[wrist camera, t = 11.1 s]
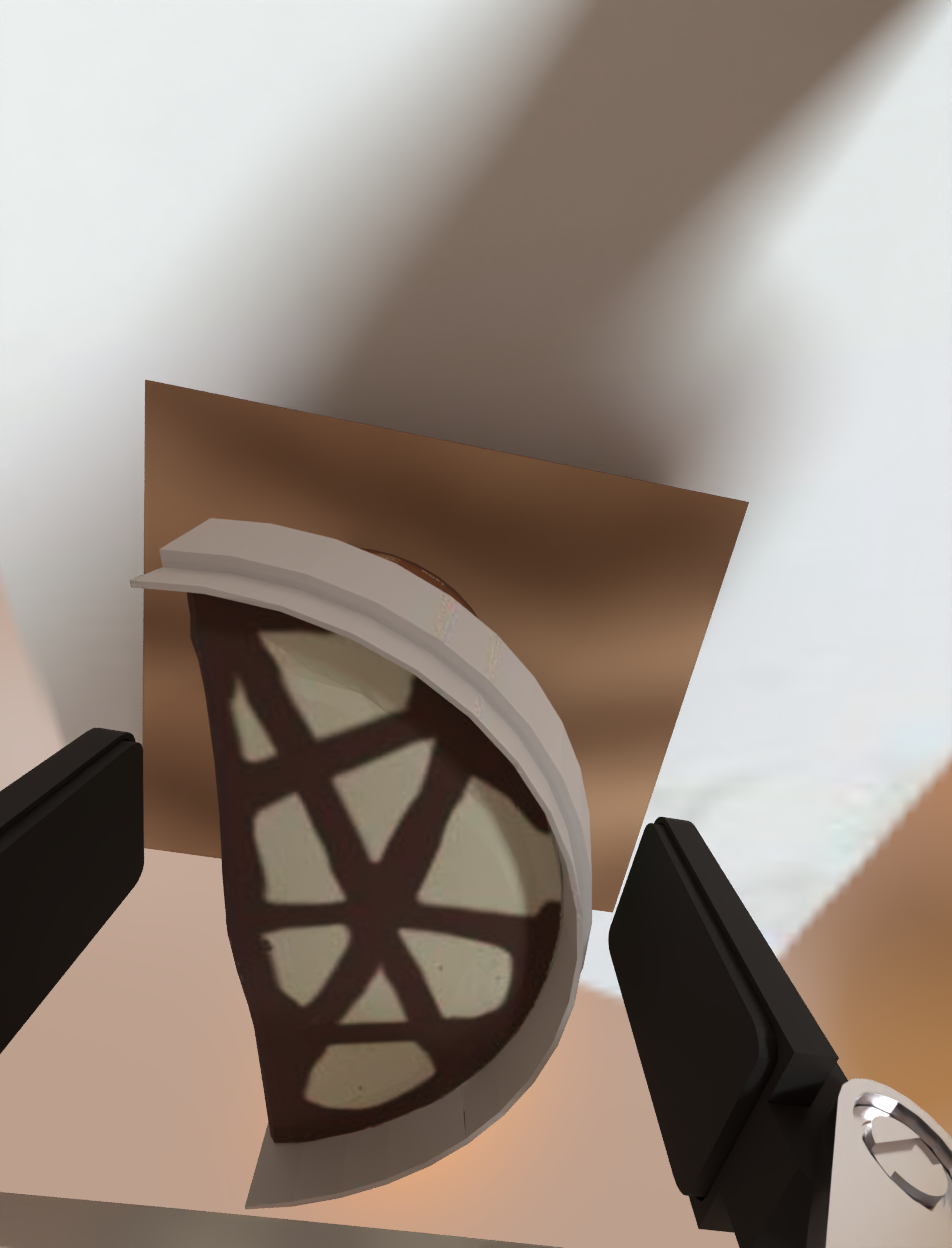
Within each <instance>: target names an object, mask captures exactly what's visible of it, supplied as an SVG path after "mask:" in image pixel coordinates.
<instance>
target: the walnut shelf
mask: <svg viewBox="0 0 952 1248" xmlns="http://www.w3.org/2000/svg"><path fill="white" fill-rule="evenodd" d="M748 504H749V502H745V501H740V500H736V499H731V498H726V497H721V496H716V495H711V494H706V493H701V492H696V491H691V490H686V489H681V488H676V487H671V486H667V485H662V484H657V483H652V482H647V481H642V480H637V479H632V478H627V477H622V476H617V475H612V474H607V473H603V472H598V471H593V470H588V469H583V468H578V467H573V466H568V465H563V464H558V463H553V462H548V461H543V460H538V459H534V458H529V457H524V456H519V455H514V454H509V453H504V452H499V451H494V450H489V449H484V448H479V447H474V446H470V445H465V444H460V443H455V442H450V441H445V440H440V439H435V438H430V437H425V436H420V435H415V434H410V433H405V432H401V431H396V430H391V429H386V428H381V427H376V426H371V425H366V424H361V423H356V422H351V421H346V420H341V419H337V418H332V417H327V416H322V415H317V414H312V413H307V412H302V411H297V410H292V409H287V408H282V407H277V406H272V405H268V404H263V403H258V402H253V401H248V400H243V399H238V398H233V397H228V396H223V395H218V394H213V393H208V392H204V391H199V390H194V389H189V388H184V387H179V386H174V385H169V384H164V383H159V382H154V381H149V380H145V493H144V574H147V573H149V572H152V571H154V570H157V569H159V568H162V567H163V565H162V561H161V556H160V551H159V549H160V548H162V547H164V546H165V545H167V544H169V543H170V542H172V541H174V540H175V539H177V538H179V537H180V536H182V535H184V534H185V533H187V532H189V531H190V530H192V529H194V528H195V527H197V526H198V525H200V524H202V523H203V522H205V521H207V520H208V519H210V518H216V519H227V520H238V521H249V522H261V523H271V524H275V525H279V526H283V527H288V528H292V529H296V530H300V531H304V532H308V533H312V534H317V535H321V536H325V537H329V538H333V539H337V540H339V541H342V542H344V543H347V544H349V545H351V546H354V547H356V548H363V549H372V550H376V551H380V552H384V553H389V554H393V555H396V556H398V557H401V558H403V559H406V560H408V561H411V562H413V563H416V564H418V565H420V566H421V567H423V568H425V569H427V570H428V571H430V572H432V573H433V574H435V575H437V576H438V577H440V578H441V579H442V580H443V581H445V582H446V583H447V584H448V585H450V586H451V587H452V588H453V589H455V590H456V591H457V592H458V593H459V594H460V596H461V597H462V598H463V599H464V600H465V601H466V602H467V603H468V604H469V605H470V607H471V608H472V609H473V611H474V612H475V614H476V615H477V617H478V618H479V620H480V621H481V622H483V623H484V624H485V625H486V626H488V627H489V628H490V629H491V630H492V631H494V632H495V633H496V634H497V635H498V636H499V637H500V638H501V639H502V641H503V642H504V643H505V644H506V645H507V646H508V647H509V649H510V650H511V651H512V652H513V653H514V654H515V655H516V657H517V658H518V659H519V660H520V661H521V662H522V663H523V665H524V666H525V667H526V668H527V669H528V670H529V671H530V673H531V674H532V675H533V676H534V677H535V679H536V680H537V682H538V684H539V685H540V687H541V688H542V690H543V692H544V693H545V695H546V697H547V698H548V700H549V701H550V703H551V705H552V706H553V708H554V710H555V711H556V713H557V714H558V716H559V718H560V719H561V721H562V723H563V725H564V728H565V730H566V733H567V735H568V738H569V740H570V743H571V745H572V748H573V751H574V753H575V756H576V758H577V761H578V763H579V766H580V768H581V773H582V778H583V784H584V789H585V794H586V799H587V804H588V809H589V814H590V840H591V865H592V910H599V911H606V912H613V910H614V907H615V904H616V901H617V898H618V895H619V892H620V889H621V886H622V883H623V880H624V877H625V874H626V871H627V868H628V865H629V862H630V859H631V856H632V853H633V850H634V847H635V844H636V841H637V838H638V835H639V832H640V829H641V826H642V823H643V820H644V817H645V814H646V811H647V808H648V805H649V802H650V799H651V796H652V793H653V790H654V787H655V784H656V781H657V778H658V775H659V772H660V769H661V766H662V763H663V760H664V757H665V754H666V751H667V748H668V745H669V742H670V739H671V735H672V732H673V729H674V726H675V723H676V720H677V717H678V714H679V711H680V708H681V705H682V702H683V699H684V696H685V693H686V690H687V687H688V684H689V681H690V678H691V675H692V672H693V669H694V666H695V663H696V660H697V657H698V654H699V651H700V648H701V645H702V642H703V639H704V636H705V633H706V630H707V627H708V624H709V621H710V618H711V615H712V612H713V609H714V606H715V603H716V600H717V597H718V594H719V591H720V588H721V585H722V582H723V579H724V576H725V573H726V570H727V567H728V564H729V561H730V558H731V555H732V552H733V549H734V546H735V543H736V540H737V537H738V534H739V531H740V528H741V525H742V522H743V519H744V516H745V513H746V510H747V507H748ZM143 799H144V848H149V849H156V850H163V851H171V852H178V853H185V854H192V855H200V856H207V857H214V858H221V859H222V856H221V837H220V818H219V806H218V796H217V785H216V774H215V763H214V756H213V748H212V741H211V734H210V726H209V719H208V711H207V704H206V696H205V690H204V686H203V681H202V676H201V671H200V666H199V662H198V658H197V655H196V652H195V650H194V647H193V644H192V641H191V638H190V612H189V606H188V600H187V592H179V591H168V590H157V589H146V588H144V639H143Z"/></svg>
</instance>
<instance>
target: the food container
mask: <svg viewBox="0 0 952 1248" xmlns="http://www.w3.org/2000/svg"><path fill="white" fill-rule="evenodd" d="M159 551H160V556H161V561H162V565H163V567H162V568H159V569H157V570H154V571H152V572H149V573H147V574H144V575H142V576H139V577H137V578H134V579H132V580H130V584H131V587H135V588H146V589H157V590H168V591H179V592H187V600H188V606H189V612H190V638H191V641H192V644H193V647H194V650H195V652H196V655H197V658H198V662H199V666H200V671H201V676H202V681H203V686H204V690H205V696H206V704H207V711H208V719H209V726H210V734H211V741H212V748H213V756H214V763H215V774H216V785H217V796H218V806H219V818H220V837H221V856H222V873H223V886H224V898H225V909H226V924H227V932H228V937H229V941H230V944H231V948H232V953H233V957H234V961H235V965H236V968H237V972H238V975H239V978H240V981H241V984H242V988H243V991H244V994H245V997H246V1000H247V1003H248V1006H249V1010H250V1014H251V1018H252V1021H253V1025H254V1029H255V1036H256V1042H257V1049H258V1055H259V1061H260V1067H261V1074H262V1081H263V1087H264V1093H265V1101H266V1107H267V1114H268V1121H269V1122H268V1126H267V1129H266V1133H265V1137H264V1141H263V1144H262V1147H261V1151H260V1155H259V1158H258V1162H257V1165H256V1169H255V1173H254V1176H253V1180H252V1183H251V1187H250V1190H249V1194H248V1198H247V1201H246V1205H245V1208H246V1209H257V1208H274V1207H290V1206H297V1205H303V1204H309V1203H314V1202H320V1201H326V1200H331V1199H337V1198H342V1197H345V1196H348V1195H352V1194H356V1193H359V1192H362V1191H366V1190H369V1189H373V1188H376V1187H380V1186H383V1185H386V1184H389V1183H391V1182H393V1181H396V1180H398V1179H400V1178H403V1177H405V1176H408V1175H410V1174H412V1173H415V1172H417V1171H419V1170H421V1169H424V1168H426V1167H428V1166H431V1165H432V1164H434V1163H436V1162H437V1161H439V1160H441V1159H443V1158H444V1157H446V1156H448V1155H449V1154H451V1153H453V1152H454V1151H456V1150H458V1149H460V1148H461V1147H463V1146H465V1145H466V1144H468V1143H470V1142H471V1141H472V1140H473V1139H474V1138H476V1137H477V1136H478V1135H479V1134H481V1133H482V1132H483V1131H485V1130H486V1129H487V1128H488V1127H490V1126H491V1125H492V1124H493V1123H495V1122H496V1121H497V1120H498V1119H500V1118H501V1117H502V1116H504V1115H505V1113H506V1112H507V1111H508V1110H509V1109H510V1108H511V1107H512V1106H513V1105H514V1104H515V1103H516V1101H517V1100H518V1099H519V1098H520V1097H521V1096H522V1095H523V1094H524V1093H525V1092H526V1091H527V1090H528V1088H529V1087H530V1086H531V1085H532V1084H533V1083H534V1082H535V1080H536V1078H537V1077H538V1075H539V1074H540V1072H541V1071H542V1069H543V1068H544V1066H545V1064H546V1063H547V1061H548V1060H549V1058H550V1057H551V1055H552V1054H553V1052H554V1051H555V1049H556V1047H557V1046H558V1043H559V1041H560V1038H561V1036H562V1034H563V1031H564V1029H565V1026H566V1024H567V1021H568V1019H569V1016H570V1014H571V1012H572V1009H573V1006H574V1003H575V998H576V993H577V988H578V983H579V978H580V973H581V971H582V969H583V965H584V960H585V955H586V950H587V945H588V940H589V935H590V930H591V925H592V865H591V840H590V814H589V809H588V804H587V799H586V794H585V789H584V784H583V778H582V773H581V768H580V766H579V763H578V761H577V758H576V756H575V753H574V751H573V748H572V745H571V743H570V740H569V738H568V735H567V733H566V730H565V728H564V725H563V723H562V721H561V719H560V718H559V716H558V714H557V713H556V711H555V710H554V708H553V706H552V705H551V703H550V701H549V700H548V698H547V697H546V695H545V693H544V692H543V690H542V688H541V687H540V685H539V684H538V682H537V680H536V679H535V677H534V676H533V675H532V674H531V673H530V671H529V670H528V669H527V668H526V667H525V666H524V665H523V663H522V662H521V661H520V660H519V659H518V658H517V657H516V655H515V654H514V653H513V652H512V651H511V650H510V649H509V647H508V646H507V645H506V644H505V643H504V642H503V641H502V639H501V638H500V637H499V636H498V635H497V634H496V633H495V632H494V631H492V630H491V629H490V628H489V627H488V626H486V625H485V624H484V623H483V622H481V621H480V620H479V618H478V617H477V615H476V614H475V612H474V611H473V609H472V608H471V607H470V605H469V604H468V603H467V602H466V601H465V600H464V599H463V598H462V597H461V596H460V594H459V593H458V592H457V591H456V590H455V589H453V588H452V587H451V586H450V585H448V584H447V583H446V582H445V581H443V580H442V579H441V578H440V577H438V576H437V575H435V574H433V573H432V572H430V571H428V570H427V569H425V568H423V567H421V566H420V565H418V564H416V563H413V562H411V561H408V560H406V559H403V558H401V557H398V556H396V555H393V554H389V553H384V552H380V551H376V550H372V549H363V548H356V547H354V546H351V545H349V544H347V543H344V542H342V541H339V540H337V539H333V538H329V537H325V536H321V535H317V534H312V533H308V532H304V531H300V530H296V529H292V528H288V527H283V526H279V525H275V524H271V523H261V522H249V521H238V520H227V519H216V518H210V519H208V520H207V521H205V522H203V523H202V524H200V525H198V526H197V527H195V528H194V529H192V530H190V531H189V532H187V533H185V534H184V535H182V536H180V537H179V538H177V539H175V540H174V541H172V542H170V543H169V544H167V545H165V546H164V547H162V548H160V549H159Z"/></svg>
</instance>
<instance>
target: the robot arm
mask: <svg viewBox="0 0 952 1248" xmlns="http://www.w3.org/2000/svg"><path fill="white" fill-rule="evenodd" d="M143 866H144V799H143V747H142V745H141V744H140V743H137V742H135V738H134V736H133V735H132V734H131V733H128V732H122V731H115V730H109V729H103V728H93V729H91V730H89V731H87V732H86V733H84V734H83V735H81V736H80V737H78V738H77V739H75V740H74V741H73V742H71V743H70V744H68V745H67V746H65V747H64V748H62V749H61V750H60V751H58V752H57V753H55V754H54V755H52V756H51V757H49V758H48V759H47V760H45V761H44V762H42V763H41V764H39V765H38V766H36V767H35V768H34V769H32V770H31V771H29V772H28V773H26V774H25V775H23V776H22V777H21V778H19V779H18V780H16V781H15V782H13V783H12V784H10V785H9V786H8V787H6V788H5V789H3V790H2V791H0V1054H1V1052H2V1051H3V1050H4V1049H5V1047H6V1046H7V1045H8V1044H9V1042H10V1041H11V1040H12V1039H13V1037H14V1036H15V1035H16V1034H17V1032H18V1031H19V1030H20V1029H21V1027H22V1026H23V1024H25V1022H26V1021H27V1020H28V1019H29V1017H30V1016H31V1015H32V1014H33V1012H34V1011H35V1010H36V1009H37V1007H38V1006H39V1005H40V1004H41V1002H42V1001H43V1000H44V999H45V997H46V996H47V995H48V994H49V992H50V991H51V990H52V989H53V987H54V986H55V985H56V984H57V982H58V981H59V980H60V979H61V977H62V976H63V975H64V974H65V972H66V971H67V970H68V969H69V967H70V966H71V965H72V964H73V962H74V961H75V960H76V959H77V957H78V956H79V955H80V954H81V952H82V951H83V950H84V949H85V948H86V946H87V945H88V944H89V942H90V941H91V940H92V939H93V938H94V936H95V935H96V934H97V933H98V931H99V930H100V929H101V928H102V926H103V925H104V924H105V923H106V921H107V920H108V919H109V918H110V916H111V915H112V914H113V913H114V911H115V910H116V909H117V908H118V906H119V905H120V904H121V903H122V901H123V900H124V899H125V898H126V896H127V895H128V894H129V893H130V891H131V890H132V889H133V888H134V886H135V885H136V883H137V882H138V880H139V877H140V876H141V873H142V870H143ZM609 950H610V955H611V958H612V962H613V965H614V969H615V972H616V976H617V979H618V983H619V986H620V990H621V993H622V997H623V1000H624V1004H625V1007H626V1011H627V1014H628V1018H629V1021H630V1025H631V1028H632V1032H633V1035H634V1039H635V1042H636V1046H637V1050H638V1053H639V1057H640V1060H641V1064H642V1067H643V1071H644V1074H645V1078H646V1081H647V1085H648V1088H649V1092H650V1095H651V1099H652V1102H653V1106H654V1109H655V1113H656V1116H657V1120H658V1123H659V1127H660V1130H661V1134H662V1137H663V1141H664V1144H665V1147H666V1151H667V1155H668V1158H669V1162H670V1165H671V1168H672V1172H673V1176H674V1178H675V1182H676V1184H677V1186H678V1188H679V1190H680V1191H681V1192H682V1194H683V1195H688V1196H689V1198H690V1202H691V1205H692V1208H693V1212H694V1215H695V1218H696V1221H697V1225H698V1228H699V1229H706V1230H715V1231H726V1232H734V1233H735V1235H736V1239H737V1241H738V1244H739V1247H740V1248H952V1137H951V1136H950V1135H948V1133H947V1132H946V1131H945V1130H943V1128H942V1127H941V1126H940V1125H939V1124H938V1123H937V1122H936V1121H935V1120H934V1119H933V1118H932V1117H931V1116H930V1115H929V1114H927V1113H926V1112H925V1111H923V1110H922V1109H921V1108H919V1107H918V1106H917V1105H916V1104H915V1103H913V1102H912V1101H911V1100H910V1099H908V1098H907V1097H905V1096H903V1095H902V1094H900V1093H898V1092H897V1091H895V1090H893V1089H892V1088H890V1087H888V1086H886V1085H884V1084H881V1083H877V1082H875V1081H872V1080H869V1079H852V1080H850V1081H848V1080H847V1078H846V1077H845V1075H844V1073H843V1072H842V1070H841V1068H840V1067H839V1065H838V1064H837V1060H838V1059H839V1058H838V1056H837V1054H836V1053H835V1051H834V1050H833V1048H832V1046H831V1045H830V1043H829V1042H828V1040H827V1038H826V1037H825V1035H824V1033H823V1032H822V1030H821V1029H820V1027H819V1026H818V1024H817V1022H816V1021H815V1019H814V1017H813V1016H812V1014H811V1013H810V1011H809V1009H808V1008H807V1006H806V1005H805V1003H804V1001H803V1000H802V998H801V996H800V995H799V993H798V992H797V990H796V988H795V987H794V985H793V984H792V982H791V981H790V979H789V977H788V975H787V974H786V972H785V971H784V969H783V967H782V966H781V964H780V963H779V961H778V959H777V958H776V956H775V954H774V953H773V951H772V950H771V948H770V946H769V945H768V943H767V942H766V940H765V938H764V937H763V935H762V934H761V932H760V930H759V929H758V927H757V925H756V924H755V922H754V921H753V919H752V917H751V916H750V914H749V913H748V911H747V909H746V908H745V906H744V905H743V903H742V901H741V900H740V898H739V896H738V895H737V893H736V892H735V890H734V888H733V887H732V885H731V884H730V882H729V880H728V879H727V877H726V875H725V874H724V872H723V871H722V869H721V867H720V866H719V864H718V863H717V861H716V859H715V858H714V856H713V855H712V853H711V851H710V850H709V848H708V846H707V845H706V843H705V842H704V840H703V838H702V837H701V835H700V834H699V832H698V830H697V829H696V827H695V826H694V825H693V823H692V822H689V821H685V820H679V819H672V818H666V817H659V818H657V819H656V820H655V823H654V824H653V823H649V824H648V825H647V826H646V827H645V830H644V832H643V835H642V838H641V841H640V844H639V847H638V850H637V852H636V855H635V858H634V861H633V864H632V867H631V870H630V872H629V875H628V878H627V881H626V884H625V887H624V890H623V892H622V895H621V898H620V901H619V904H618V907H617V910H616V912H615V915H614V918H613V921H612V924H611V927H610V930H609ZM0 1248H561V1247H551V1246H542V1245H532V1244H523V1243H514V1242H503V1241H495V1240H484V1239H475V1238H466V1237H456V1236H446V1235H438V1234H428V1233H417V1232H408V1231H398V1230H387V1229H378V1228H368V1227H358V1226H347V1225H338V1224H328V1223H318V1222H308V1221H298V1220H288V1219H278V1218H267V1217H257V1216H247V1215H237V1214H227V1213H216V1212H206V1211H196V1210H185V1209H175V1208H165V1207H155V1206H144V1205H133V1204H122V1203H111V1202H101V1201H89V1200H77V1199H68V1198H57V1197H46V1196H36V1195H25V1194H14V1193H3V1192H0Z"/></svg>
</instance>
